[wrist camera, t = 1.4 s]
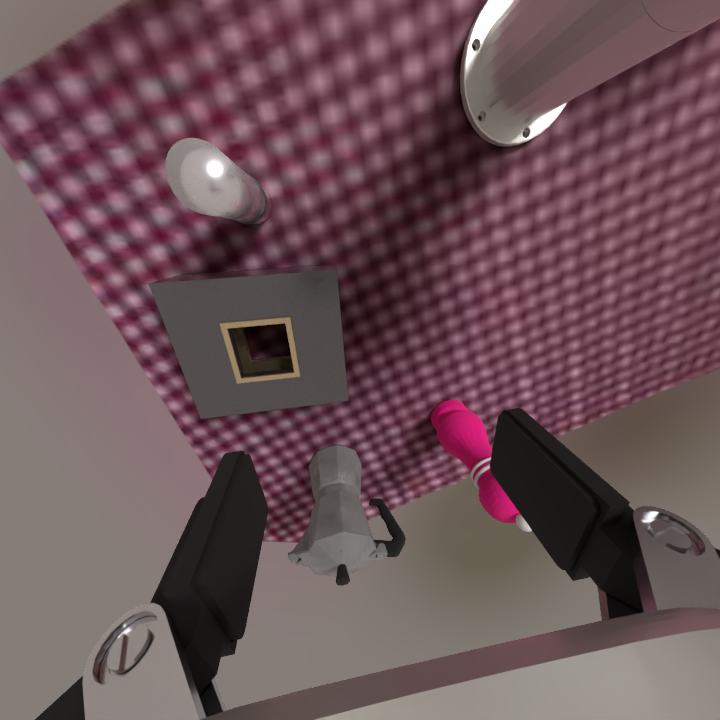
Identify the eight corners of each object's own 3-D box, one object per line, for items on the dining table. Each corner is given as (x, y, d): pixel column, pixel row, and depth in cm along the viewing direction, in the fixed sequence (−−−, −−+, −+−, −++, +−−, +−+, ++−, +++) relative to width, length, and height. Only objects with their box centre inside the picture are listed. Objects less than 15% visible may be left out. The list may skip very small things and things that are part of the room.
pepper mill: (425, 433, 47) (491, 556, 29) (429, 398, 44) (506, 511, 26) (464, 429, 48) (552, 545, 30) (471, 394, 44) (573, 501, 26)
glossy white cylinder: (246, 170, 28) (184, 115, 15) (280, 202, 29) (251, 176, 17) (223, 205, 29) (149, 180, 16) (258, 234, 30) (215, 232, 18)
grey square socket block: (333, 264, 33) (336, 270, 27) (344, 376, 40) (348, 402, 34) (180, 275, 31) (146, 284, 25) (219, 390, 38) (199, 420, 32)
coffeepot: (297, 485, 48) (285, 612, 32) (296, 444, 44) (282, 565, 28) (380, 480, 50) (409, 596, 34) (386, 441, 46) (422, 551, 30)
